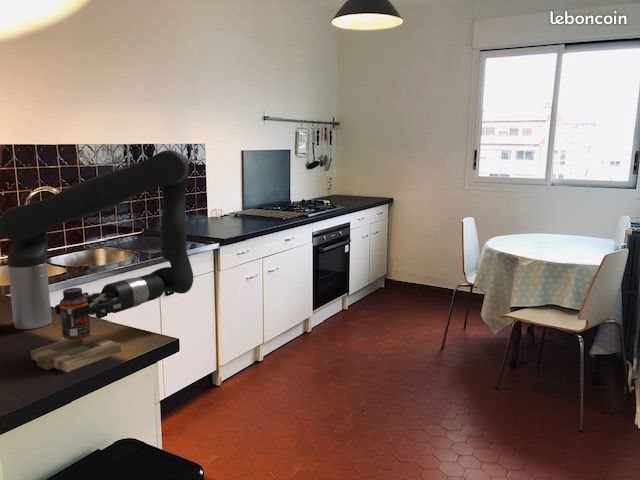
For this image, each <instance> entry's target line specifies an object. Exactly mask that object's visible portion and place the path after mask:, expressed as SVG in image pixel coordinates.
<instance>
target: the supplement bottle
mask: <svg viewBox="0 0 640 480" xmlns="http://www.w3.org/2000/svg"><path fill="white" fill-rule="evenodd" d="M62 294H63V295H62V296H63V297H62V299H60V301H59V304H60V313H61V314H60V321H61V333H62V337H63V338H64V340H66V339H70V340H75V339H81V338H84V337H86V336H88V335H89V334H90V335H91V322H90V315H87V316H84V317H81V318H78V319H73V318H72V312H71V311H72V310H73V309H76V308H79V307H83V306H88V302H87V298H86V297H84V296H83V295H82V294H83V289H82V288H81V287H70V288H65V289H63V290H62Z"/></svg>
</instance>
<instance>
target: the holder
mask: <svg viewBox="0 0 640 480" xmlns="http://www.w3.org/2000/svg"><path fill="white" fill-rule="evenodd" d="M121 344H122V343H119V342H116V341H114V340H109V339H107V338H103V337H99V336H95V335H93V334H91V333H90V334H89V335H88V336H86V337H84V338H81V339H75V340H70V339H63V340H60V341H57V342H54V343H51V344H48V345H44V346H42V347H38V348H35V349H32V350H30V357H31V358H30V359H31V360H33V361H36V366H37V367H39V368H42V369H45V370H47V371H48V370H51V369H53V368H55V369H57V370H59V371H62V372H64V373H65V372H66V373H69V372H71V371H74V370H77V369H80V368H82V367H84V366H87V365H90V364H93V363H95V362H98V361H101V360H103V359H106V358H108V357H110V356H113V355H116V354H118V353H121V352H122V345H121Z"/></svg>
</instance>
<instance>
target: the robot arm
mask: <svg viewBox="0 0 640 480" xmlns="http://www.w3.org/2000/svg"><path fill="white" fill-rule="evenodd" d="M189 171H190V165H189V162H188V160H187V157H185V156H184V155H183V154H182V153H180V152H179V151H174V150H170V149H167V150H166V149H165V150H162V151H159V152H158V153H156V154H154V155H152V156H150V157H148V158H147V159H145V160H141V161H140V162H138V163H135V164H134V165H131V166H129V167H125V168H121V169H116V170H113V171H110V172H107V173H104V174H100V175H96V176H94V177H91V178H89V179H86V180H83V181H81V182H79V183H76V184H73V185H71V186H69V187H67V188H65V189H63V190H61V191H59V192H57V193H55V194H53V195H51V196H49V197H46V198H44V199H41V200H38V201H34V202H31V203H28V204H27V203H26V204H21V205H17V206H13V207H9V208H8V209H6V210H5V211H3V213H2V214H1V215H0V235H1V236H3V237H4V238H5V239H7V240H9V241H11V248H10V251H9V253H8V255H7V257H6V258H7V269H8V279H9V286H10V287H9V288H10V303H11V310H12V321H13V325H14V326H13V327H14V328H15V329H17V330H31V329H38V328H42V327H45V326H48V325H50V324H51V323H52V322H53V318H52V309H51V308H52V307H51V298H50V297H51V296H50V286H49V276H48V266H47V253H48V248H49V247H48V245H49V244H48V231H47V230H48V229H50V228H52V227H55V226H57V225H60V224H63V223H67V222H68V223H69V222H73V221H76V220H81V219H83V218H88V217H90V216H94V215H97V214H101V213H102V212H105V211H107V210H110V209H112V208H114V207H117V206H120V205H121V204H123V203H125V202H126V201H128V200H130V199H132V198H133V197H135V196H136V195H138V194H141V193H143V192H147V191H150V190H152V189H156V188H157V189H158V188H161V194H162V195H161V196H162V206H161V207H162V209H161V217H160V226H159V227H160V228H159V231H160V232H159V235H160V239H159V240H160V241H159V242H160V255H161V257H162V258H163V259H164V260H167V262H169V264H170V266H165V267H160V268H157V269H156V270H154V271H152V272H150V273H148V274H144V275H139V276H138V277H137V276H136V277H130V278H125V279H122V280H118V281H115V282H111V283H107V284H105V285H104V286H103V287H102V289H101V292H93V293H91V294H89V292H82V295H83V296H84V297H86V298H87V302H88V306H83V307H79V308H76V309H73V310H72V311H71V312H72V318H73V319H78V318H81V317H84V316H87V315H89V316H96V317H101V316H104V315H107V314H111V313H112V314H117V313H120V312H123V311H125V310H129V309H132V308H135V307H139V306H141V305H142V304H144V303H147V302H151V301H154V300H156V299H160V297H162V296H163V294H164V293H166V292H168V293H169V292H170V293H176V294H180V295H181V294H186V293H188V292H189V291H190V290H191V289H192V287H193V284H194V272H193V268H192V264H191V260H190V258H189V255H188V252H187V249H188V248H187V245H188V243H187V225H186V224H187V223H186V221H187V220H186V192H187V190H186V189H187V183H188V177H189V176H188V175H189ZM54 313H55V314H56V315H58V316H59V315H61V313H60V303H58V304H55V306H54Z"/></svg>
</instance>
